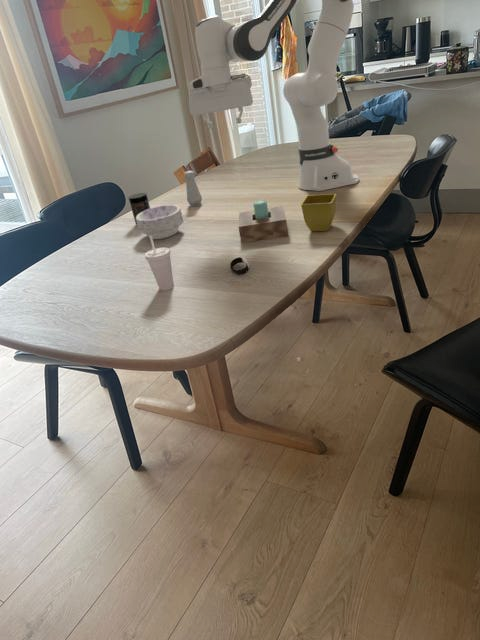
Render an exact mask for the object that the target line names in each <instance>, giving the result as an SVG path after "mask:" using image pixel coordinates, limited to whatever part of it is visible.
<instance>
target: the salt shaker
mask: <svg viewBox="0 0 480 640" xmlns="http://www.w3.org/2000/svg"><path fill="white" fill-rule="evenodd" d="M183 178H184V179H185V181H186V182H185V183H186V186H185V187H186V200H187V203H188V205H189V206H190V207H198V206H201V204H202V200H203V197H202V194H201V192H200V190H199V187H198V185H197V182H196V179H195V178H196V174H195V171H193V170H188V171H187V170H186V171H185V172H184V173H183Z"/></svg>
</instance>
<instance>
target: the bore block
mask: <svg viewBox="0 0 480 640" xmlns="http://www.w3.org/2000/svg"><path fill="white" fill-rule="evenodd" d="M267 208H268V215H269V218H264V219H258V220H256V218H255V211H254V210H249V211H242V212H239V213H238V226H237V227H238V231H239V239H240V243H241V244H243V243H251V242H257V241H263V240H269V239H277V238H283V237H289V232H288V231H289V230H288V225H287V224H288V223H287V217H286V216H287V215H286V212H285V207H284V205H280V206H273V207H267Z"/></svg>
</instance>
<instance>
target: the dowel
mask: <svg viewBox="0 0 480 640" xmlns="http://www.w3.org/2000/svg"><path fill="white" fill-rule="evenodd" d="M268 208H269V207H268V202H267V201H266V200H260V201H256V202H254V203H253V211H255V218H256V220H258V219H264V218H269V215H268Z"/></svg>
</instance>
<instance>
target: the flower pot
mask: <svg viewBox="0 0 480 640" xmlns="http://www.w3.org/2000/svg"><path fill="white" fill-rule="evenodd" d="M336 207H337V193H326V194H325V193H324V194H323V193H322V194H311V195H310V194H309V195H306V196H305V198H304V199H303V201H302V202H301V210H302V215H303V219H304V222H305V225H306V227H307V229H309V231H310V232H328V231H329V230H330V228H331V226H332V224H333V221H334V218H335V215H336Z"/></svg>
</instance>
